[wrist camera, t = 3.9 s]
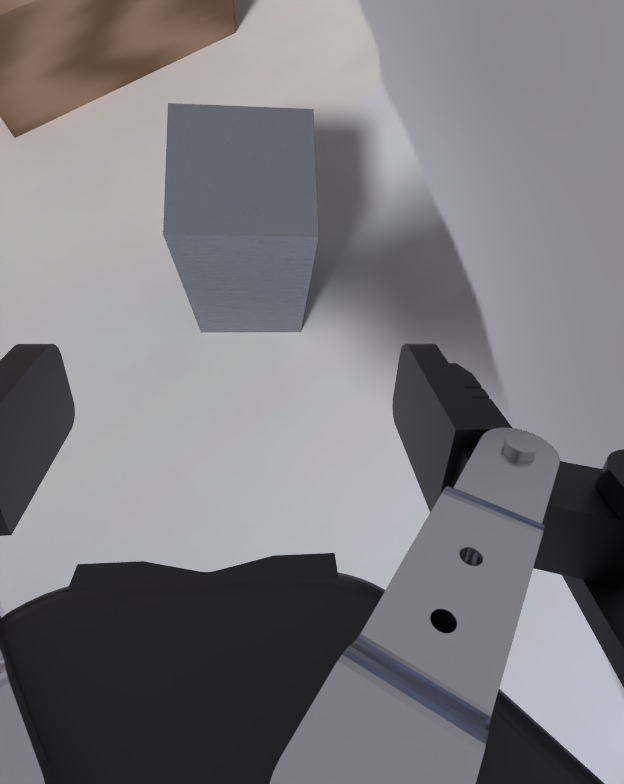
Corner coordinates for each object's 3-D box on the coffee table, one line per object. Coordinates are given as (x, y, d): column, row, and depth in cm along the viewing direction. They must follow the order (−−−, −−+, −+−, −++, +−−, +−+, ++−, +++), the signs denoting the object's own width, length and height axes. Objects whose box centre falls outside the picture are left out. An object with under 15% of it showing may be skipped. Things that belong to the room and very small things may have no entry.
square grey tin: (300, 332, 25) (318, 236, 16) (201, 332, 24) (163, 234, 15) (297, 243, 26) (313, 109, 17) (202, 242, 25) (168, 103, 16)
